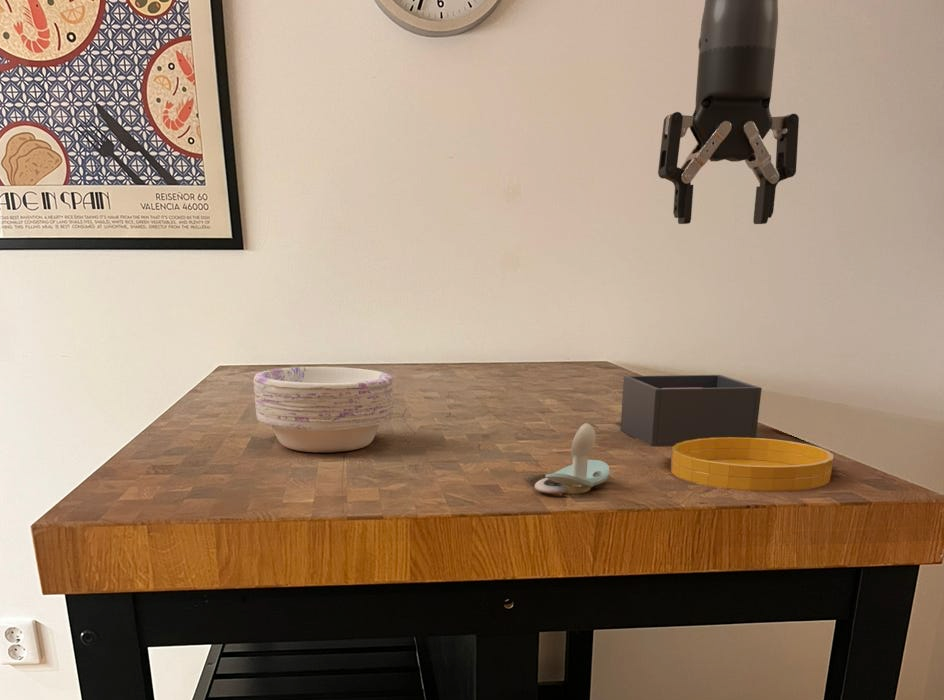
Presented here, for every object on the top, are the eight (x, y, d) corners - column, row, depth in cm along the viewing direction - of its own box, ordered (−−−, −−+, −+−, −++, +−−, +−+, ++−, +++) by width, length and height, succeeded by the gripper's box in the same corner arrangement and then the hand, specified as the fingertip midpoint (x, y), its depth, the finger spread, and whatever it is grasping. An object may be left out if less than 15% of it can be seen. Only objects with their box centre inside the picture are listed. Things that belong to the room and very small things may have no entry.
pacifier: (521, 496, 87) (581, 502, 84) (521, 426, 84) (583, 430, 81) (558, 481, 92) (615, 486, 89) (558, 415, 90) (618, 418, 87)
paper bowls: (400, 456, 102) (398, 380, 100) (255, 460, 100) (249, 382, 97) (388, 432, 116) (387, 364, 113) (261, 435, 114) (255, 366, 111)
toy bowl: (787, 459, 102) (790, 435, 101) (859, 491, 88) (863, 464, 87) (650, 462, 100) (652, 438, 99) (702, 496, 86) (705, 468, 85)
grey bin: (714, 428, 120) (720, 374, 118) (755, 446, 109) (761, 387, 106) (620, 430, 118) (623, 375, 116) (651, 448, 107) (655, 389, 105)
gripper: (681, 40, 93) (670, 222, 99) (821, 43, 95) (801, 222, 100) (657, 55, 100) (647, 225, 106) (787, 58, 101) (770, 225, 107)
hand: (722, 223), depth 103 cm, fingers open, 8 cm apart
